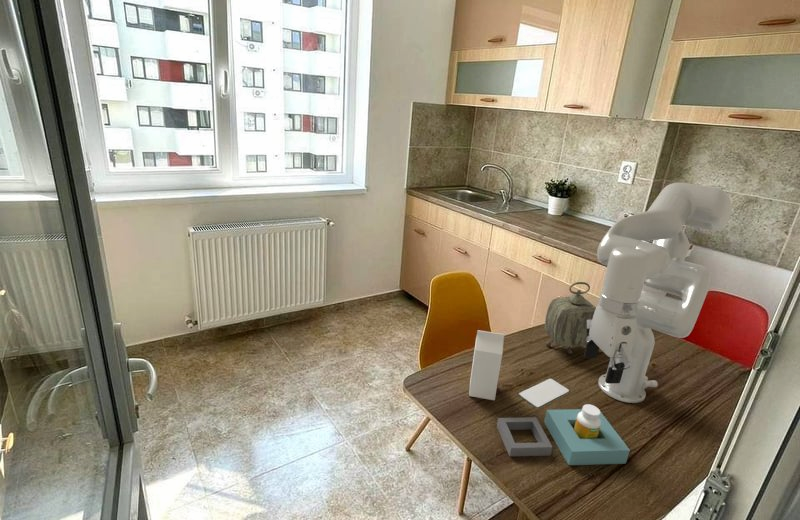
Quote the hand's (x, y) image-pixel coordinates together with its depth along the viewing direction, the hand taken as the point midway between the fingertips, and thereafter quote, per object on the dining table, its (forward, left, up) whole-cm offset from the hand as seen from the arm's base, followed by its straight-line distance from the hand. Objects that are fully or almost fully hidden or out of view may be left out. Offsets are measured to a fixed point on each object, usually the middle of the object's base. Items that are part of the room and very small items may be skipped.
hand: (600, 369), depth 101 cm
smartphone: (+2, -18, -21) cm, 28 cm away
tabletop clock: (-15, -40, -21) cm, 47 cm away
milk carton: (+20, -19, -21) cm, 35 cm away
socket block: (0, +1, -20) cm, 20 cm away
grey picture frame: (+15, 0, -20) cm, 26 cm away
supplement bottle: (0, +1, -21) cm, 21 cm away
